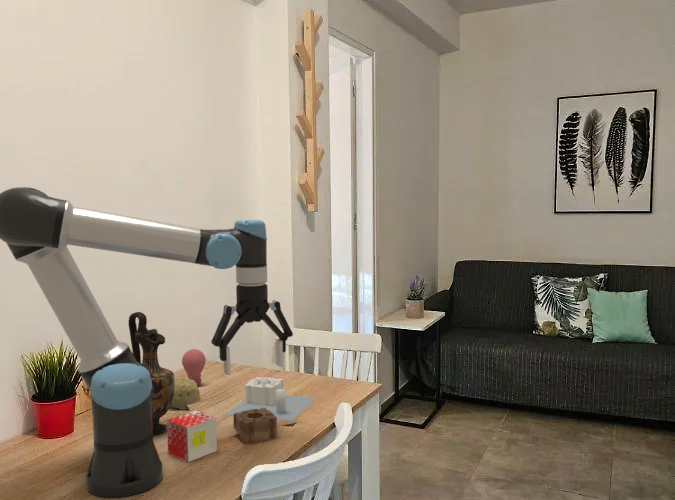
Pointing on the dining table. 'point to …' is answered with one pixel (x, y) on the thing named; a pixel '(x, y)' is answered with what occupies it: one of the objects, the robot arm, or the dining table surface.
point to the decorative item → (184, 393)
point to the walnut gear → (255, 425)
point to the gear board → (289, 404)
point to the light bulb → (194, 364)
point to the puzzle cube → (191, 435)
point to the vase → (152, 368)
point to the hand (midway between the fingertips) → (253, 369)
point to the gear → (262, 391)
